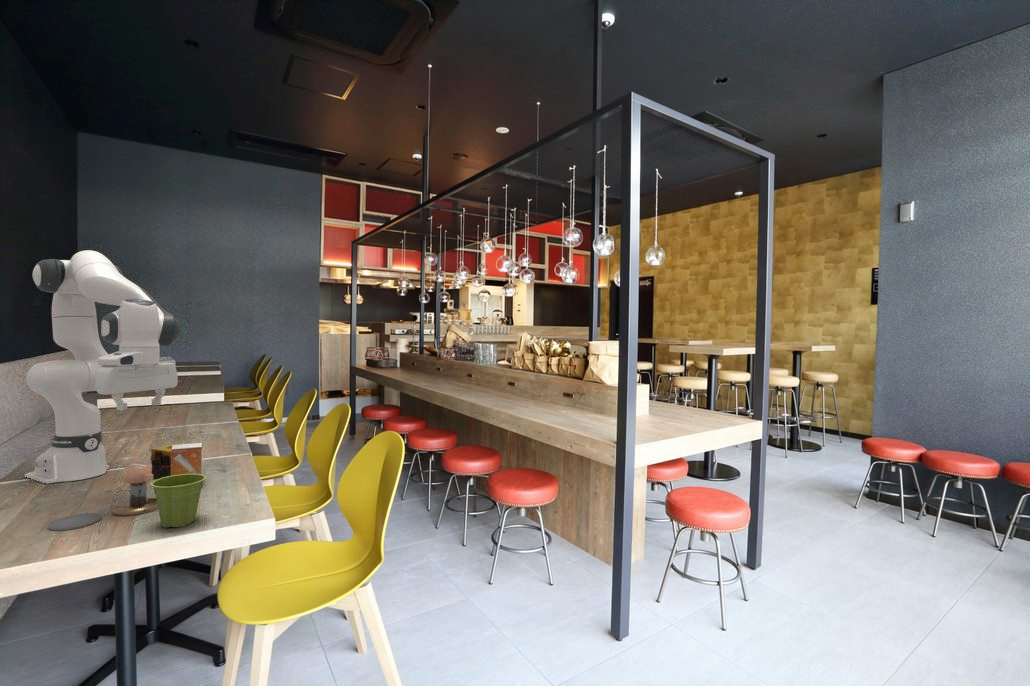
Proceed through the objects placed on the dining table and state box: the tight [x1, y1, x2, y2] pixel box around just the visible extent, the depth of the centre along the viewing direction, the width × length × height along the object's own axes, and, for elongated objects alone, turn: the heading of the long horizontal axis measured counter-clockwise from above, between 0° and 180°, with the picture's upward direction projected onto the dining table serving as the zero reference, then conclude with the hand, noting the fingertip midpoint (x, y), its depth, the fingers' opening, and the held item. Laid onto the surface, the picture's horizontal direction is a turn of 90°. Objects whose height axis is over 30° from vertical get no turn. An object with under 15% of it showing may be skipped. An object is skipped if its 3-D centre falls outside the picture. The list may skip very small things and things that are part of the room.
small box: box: [171, 442, 203, 476], centre depth 151 cm, size 8×6×13 cm
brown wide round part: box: [111, 481, 158, 517], centre depth 132 cm, size 11×11×8 cm
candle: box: [150, 442, 184, 480], centre depth 161 cm, size 10×10×10 cm
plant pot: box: [150, 473, 207, 528], centre depth 123 cm, size 12×12×11 cm
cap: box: [122, 462, 154, 485], centre depth 132 cm, size 9×6×4 cm, turn 76°
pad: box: [47, 512, 102, 532], centre depth 121 cm, size 10×10×1 cm
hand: (139, 407), depth 132 cm, fingers open, 8 cm apart
